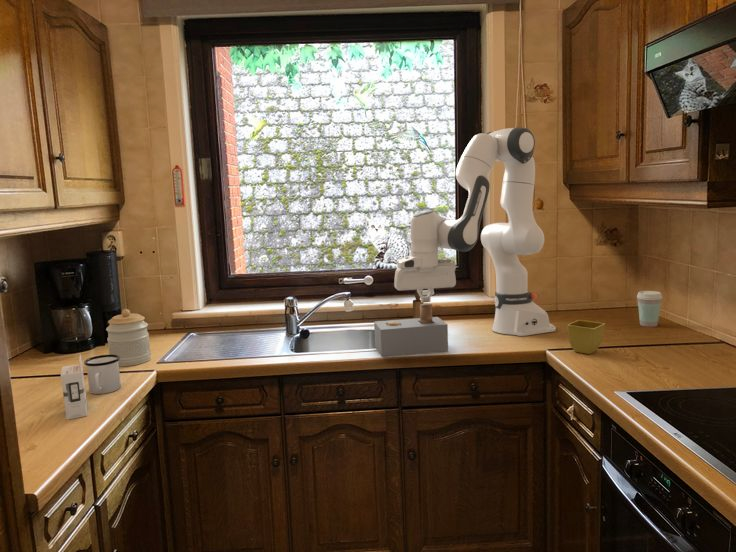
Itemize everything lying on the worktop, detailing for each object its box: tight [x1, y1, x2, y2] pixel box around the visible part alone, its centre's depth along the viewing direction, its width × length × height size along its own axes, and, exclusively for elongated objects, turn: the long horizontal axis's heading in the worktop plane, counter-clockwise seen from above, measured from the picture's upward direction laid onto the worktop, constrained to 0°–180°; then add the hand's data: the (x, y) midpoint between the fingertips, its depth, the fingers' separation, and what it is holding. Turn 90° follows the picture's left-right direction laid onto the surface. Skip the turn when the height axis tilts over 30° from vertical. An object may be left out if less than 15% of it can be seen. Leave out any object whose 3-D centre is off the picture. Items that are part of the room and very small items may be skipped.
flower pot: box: [566, 319, 606, 355], centre depth 193 cm, size 9×9×9 cm
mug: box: [83, 354, 122, 395], centre depth 174 cm, size 12×10×9 cm
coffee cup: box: [636, 290, 663, 328], centre depth 223 cm, size 8×9×12 cm
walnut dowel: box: [420, 303, 433, 324], centre depth 204 cm, size 4×4×9 cm
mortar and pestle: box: [412, 289, 424, 319], centre depth 230 cm, size 7×6×18 cm
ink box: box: [60, 352, 88, 421], centre depth 157 cm, size 8×5×15 cm, turn 24°
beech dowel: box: [388, 322, 400, 326], centre depth 203 cm, size 4×4×9 cm
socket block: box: [373, 316, 449, 358], centre depth 204 cm, size 22×12×9 cm, turn 99°
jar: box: [105, 308, 152, 367], centre depth 203 cm, size 13×13×18 cm
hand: (425, 302), depth 203 cm, fingers closed
